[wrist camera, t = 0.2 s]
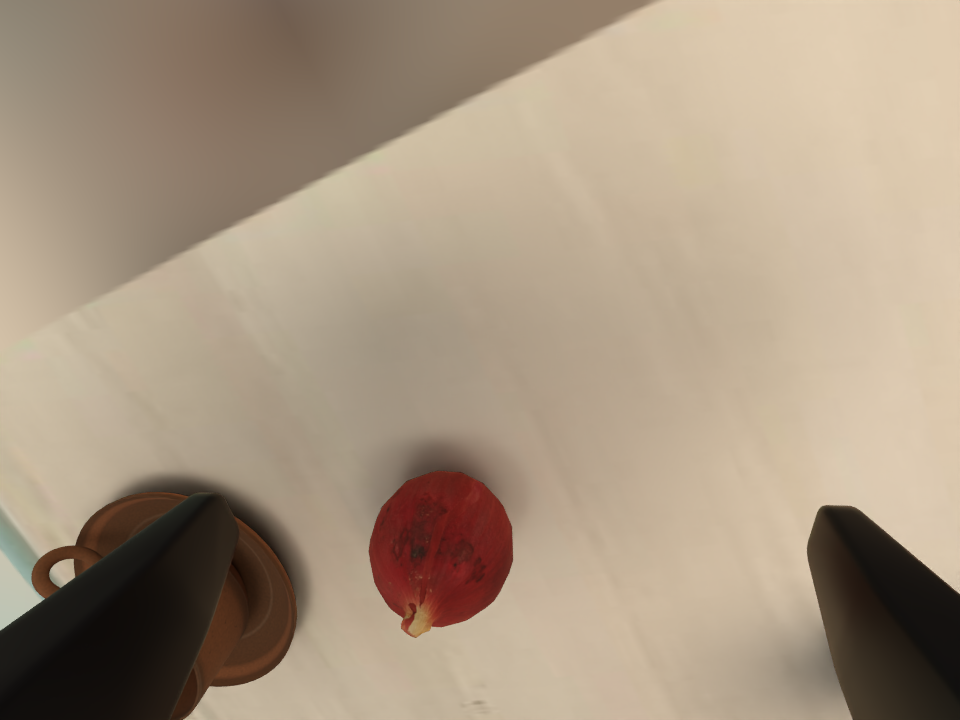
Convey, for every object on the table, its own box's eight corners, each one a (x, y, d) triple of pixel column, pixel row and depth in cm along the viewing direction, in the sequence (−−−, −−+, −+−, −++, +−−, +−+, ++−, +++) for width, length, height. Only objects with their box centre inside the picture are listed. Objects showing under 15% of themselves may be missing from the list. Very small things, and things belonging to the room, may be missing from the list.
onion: (394, 437, 27) (324, 549, 19) (519, 441, 26) (497, 561, 18) (404, 542, 29) (344, 681, 21) (521, 550, 28) (501, 698, 20)
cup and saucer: (102, 620, 34) (6, 716, 28) (101, 446, 29) (-14, 519, 24) (296, 683, 33) (238, 795, 27) (325, 515, 29) (263, 606, 23)
